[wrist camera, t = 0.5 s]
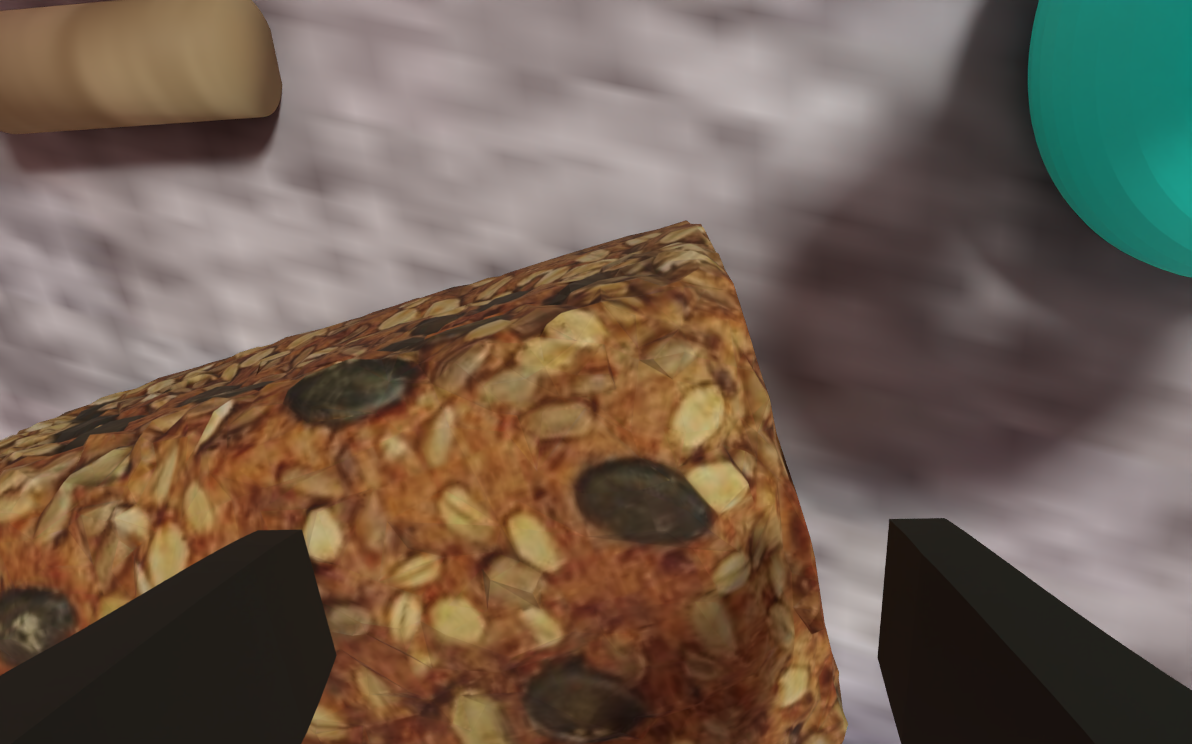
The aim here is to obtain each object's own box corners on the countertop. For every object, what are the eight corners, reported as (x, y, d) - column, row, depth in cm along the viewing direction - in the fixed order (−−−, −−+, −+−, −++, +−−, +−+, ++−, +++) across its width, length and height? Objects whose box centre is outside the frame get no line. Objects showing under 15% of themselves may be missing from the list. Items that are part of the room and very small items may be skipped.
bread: (239, 657, 24) (-34, 1022, 14) (66, 373, 20) (-441, 615, 11) (798, 551, 20) (912, 942, 11) (709, 183, 17) (767, 303, 7)
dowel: (286, 128, 17) (219, 99, 14) (54, 144, 17) (-50, 119, 15) (277, 17, 16) (206, -33, 14) (41, 37, 17) (-66, -6, 14)
